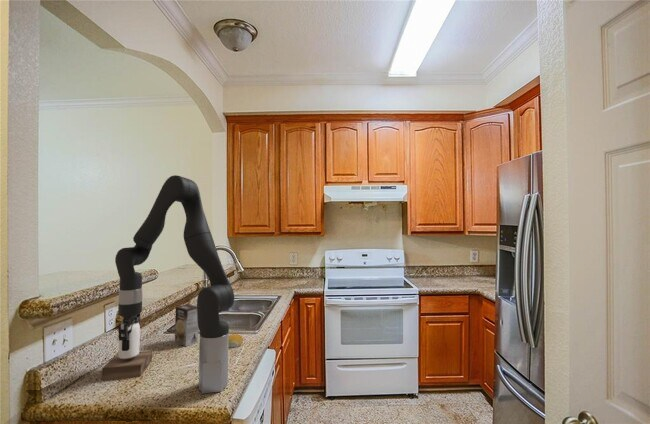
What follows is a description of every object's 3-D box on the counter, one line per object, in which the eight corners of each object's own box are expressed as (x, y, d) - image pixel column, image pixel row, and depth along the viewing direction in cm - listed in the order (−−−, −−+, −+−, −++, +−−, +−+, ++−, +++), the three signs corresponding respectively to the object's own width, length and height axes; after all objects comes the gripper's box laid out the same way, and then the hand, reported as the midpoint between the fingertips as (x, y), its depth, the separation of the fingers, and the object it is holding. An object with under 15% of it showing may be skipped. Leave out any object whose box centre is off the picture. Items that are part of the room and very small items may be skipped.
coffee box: (173, 342, 140) (174, 306, 141) (186, 338, 146) (187, 303, 146) (186, 346, 135) (186, 309, 136) (198, 342, 141) (199, 306, 141)
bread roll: (243, 340, 144) (244, 331, 144) (241, 347, 135) (241, 338, 135) (225, 340, 143) (225, 332, 143) (221, 348, 134) (221, 339, 134)
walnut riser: (140, 376, 109) (140, 364, 109) (102, 379, 107) (102, 368, 107) (151, 361, 121) (151, 351, 121) (117, 364, 118) (117, 353, 118)
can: (135, 350, 118) (136, 318, 119) (142, 355, 114) (142, 322, 115) (115, 356, 113) (116, 323, 114) (122, 361, 109) (123, 326, 110)
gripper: (134, 305, 108) (133, 353, 108) (148, 296, 122) (147, 338, 122) (110, 306, 107) (108, 355, 106) (127, 297, 121) (126, 340, 120)
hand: (129, 346), depth 114 cm, fingers closed on can, 6 cm apart
